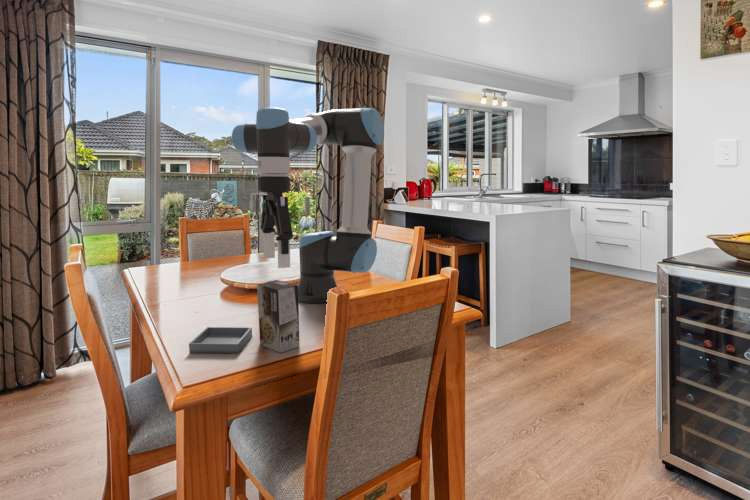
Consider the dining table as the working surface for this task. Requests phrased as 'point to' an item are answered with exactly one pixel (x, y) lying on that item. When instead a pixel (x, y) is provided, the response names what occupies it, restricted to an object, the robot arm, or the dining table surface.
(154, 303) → the dining table surface
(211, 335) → the tray
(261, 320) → the coffee box
